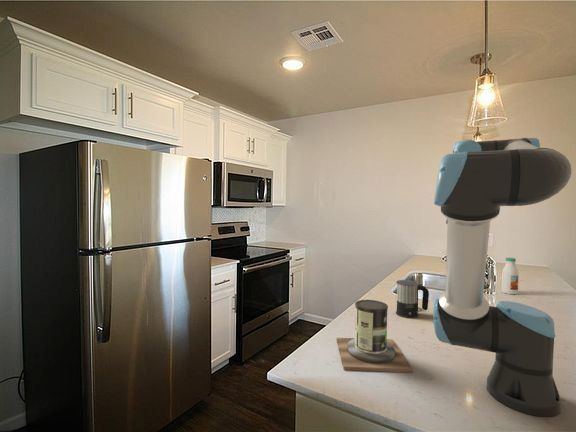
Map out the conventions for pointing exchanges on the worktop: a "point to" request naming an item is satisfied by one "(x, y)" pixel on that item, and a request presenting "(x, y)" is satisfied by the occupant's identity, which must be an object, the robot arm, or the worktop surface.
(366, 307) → the coffee can
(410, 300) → the milk frother
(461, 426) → the worktop surface
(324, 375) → the worktop surface
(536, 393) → the robot arm
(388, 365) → the mount board
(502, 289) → the milk bottle
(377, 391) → the worktop surface
